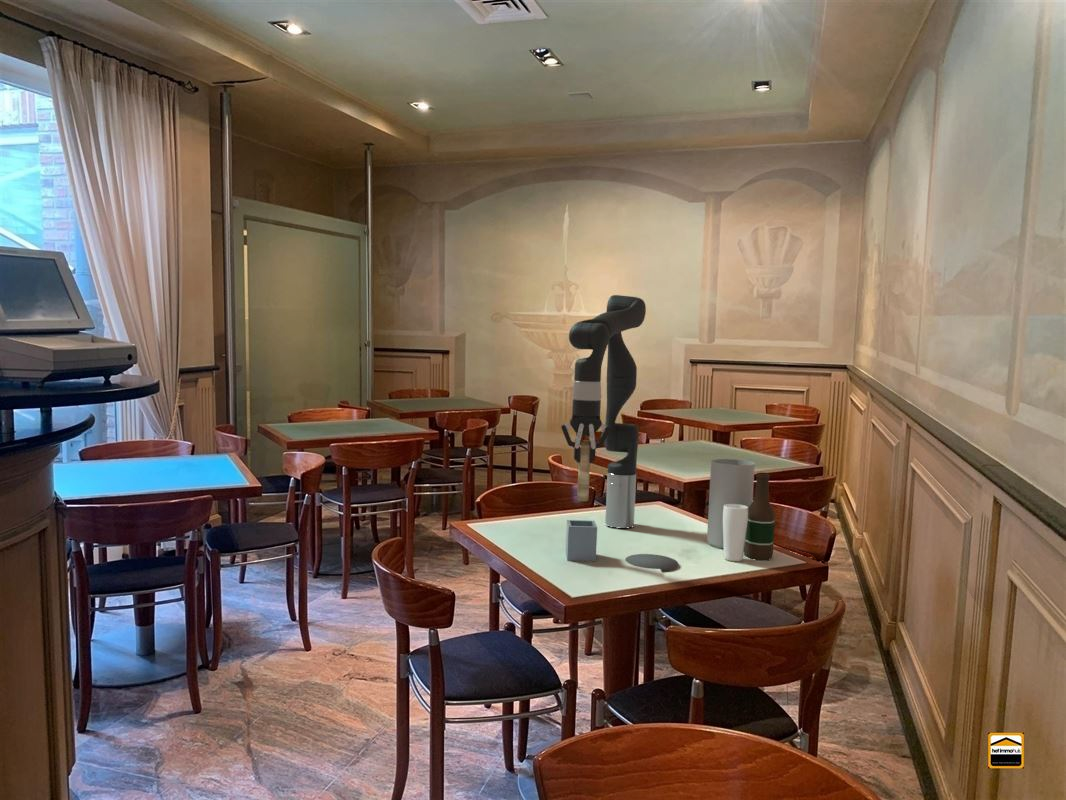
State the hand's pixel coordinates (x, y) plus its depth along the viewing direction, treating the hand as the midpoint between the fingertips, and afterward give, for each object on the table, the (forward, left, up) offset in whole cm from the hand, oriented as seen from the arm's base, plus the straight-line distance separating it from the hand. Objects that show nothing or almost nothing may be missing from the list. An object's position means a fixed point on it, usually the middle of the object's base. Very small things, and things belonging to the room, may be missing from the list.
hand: (584, 462), depth 209 cm
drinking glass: (-5, +43, -27) cm, 51 cm away
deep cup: (0, 0, -27) cm, 27 cm away
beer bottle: (-8, +51, -27) cm, 58 cm away
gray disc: (+2, +19, -27) cm, 33 cm away
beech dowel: (0, 0, -10) cm, 10 cm away
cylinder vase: (-21, +46, -27) cm, 57 cm away
